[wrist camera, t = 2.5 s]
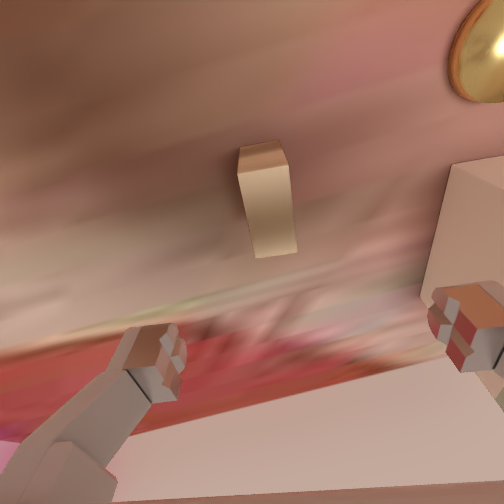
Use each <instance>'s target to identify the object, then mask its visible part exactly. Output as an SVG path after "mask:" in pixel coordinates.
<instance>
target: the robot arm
mask: <svg viewBox="0 0 504 504" xmlns="http://www.w3.org/2000/svg"><path fill="white" fill-rule="evenodd" d="M431 298H432V300H433V301H434V302H435V303H434V304H433V305H432V306H431V307H430V308H429V310H428V315H427V318H428V323H429V327H430V329H431V331H432V333H433V334H434V336H435V337H436V339H437V340H439V341H441V342H443V343H444V344H446V345H447V347H446V353H447V355H448V356H449V357H450V359H451V360H452V361H453V363H454V365H455V366H456V367H457V369H458V370H459V372H461V373H462V372H476V371H490V370H494V372H495V373H496V374H497V375H499V376H500V377H502V378H503V379H504V287H503V286H502V285H501V284H500V283H498V282H496V281H493V280H490V281H482V282H475V283H468V284H461V285H454V286H447V287H440V288H435V290H434V291H433V293H432V297H431ZM178 331H179V330H178V328H177V326H176V324H175V323H166V324H157V325H147V326H141V327H131V328H129V329H128V330H126V332H125V333H124V335H123V337H122V339H121V341H120V343H119V345H118V347H117V349H116V351H115V353H114V355H113V357H112V359H111V361H110V363H109V365H108V367H107V369H106V371H105V372H103V373H100V374H98V375H97V376H96V377H95V378H94V379H93V380H92V381H90V382H89V383H88V384H87V385H86V386H85V387H84V388H83V389H81V390H80V391H79V392H78V393H77V394H76V395H75V396H73V397H72V398H71V399H70V400H69V401H68V402H67V403H66V404H64V405H63V406H62V407H61V408H60V409H59V410H58V411H56V412H55V413H54V414H53V415H52V416H51V417H50V418H49V419H47V420H46V421H45V422H44V423H43V424H42V425H41V426H39V427H38V428H37V429H36V430H35V431H34V432H33V433H32V434H30V435H29V436H28V437H27V438H26V439H25V440H24V441H23V442H21V443H20V445H19V446H18V448H17V449H16V451H15V452H14V454H13V456H12V457H11V459H10V460H9V462H8V463H7V465H6V467H5V468H4V470H3V471H2V473H1V474H0V504H504V480H502V481H484V482H466V483H448V484H431V485H414V486H395V487H379V488H378V487H377V488H360V489H342V490H325V491H307V492H288V493H271V494H252V495H235V496H218V497H199V498H181V499H164V500H146V501H128V502H111V501H112V498H113V496H114V492H115V489H116V486H117V483H118V482H117V479H116V477H115V476H114V475H112V474H111V473H110V472H109V471H107V470H106V469H105V467H106V466H107V464H108V463H109V462H110V461H111V459H112V458H113V457H114V455H115V454H116V452H117V451H118V450H119V449H120V447H121V446H122V445H123V443H124V442H125V441H126V439H127V438H128V437H129V435H130V434H131V432H132V431H133V430H134V428H135V427H136V426H137V424H138V423H139V422H140V420H141V419H142V418H143V416H144V415H145V414H146V412H147V411H148V410H149V408H150V407H151V406H152V403H160V402H168V401H176V400H177V399H178V395H179V391H180V386H181V382H182V379H181V377H180V375H179V374H180V372H181V371H182V370H183V369H184V368H185V365H186V361H187V348H186V344H185V342H184V340H183V339H182V338H181V337H179V336H177V334H178Z"/></svg>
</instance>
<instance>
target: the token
mask: <svg viewBox="0 0 504 504" xmlns="http://www.w3.org/2000/svg"><path fill="white" fill-rule="evenodd" d="M237 175H238V180H239V185H240V189H241V194H242V198H243V203H244V208H245V212H246V217H247V221H248V226H249V231H250V235H251V240H252V245H253V249H254V254H255V258H256V259H257V258H264V257H270V256H277V255H283V254H290V253H296V252H297V243H296V233H295V223H294V214H293V204H292V194H291V185H290V175H289V165H288V162H287V160H286V157H285V155H284V152H283V150H282V147H281V145H280V142H279V140H274V141H268V142H263V143H258V144H253V145H248V146H243V147H240V152H239V162H238V172H237Z"/></svg>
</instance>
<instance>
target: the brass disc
mask: <svg viewBox="0 0 504 504" xmlns="http://www.w3.org/2000/svg"><path fill="white" fill-rule="evenodd" d="M448 77H449V81H450V84H451V86H452V88H453V89H454V91H455V92H456V93H457V94H458V95H460V96H461V97H463V98H465V99H468V100H473V101H480V102H486V103H501V102H504V0H481V1H480V2H479V3H478V4H477V5H476V6H475V7H474V8H473V9H472V10H471V12H470V13H469V14H468V15H467V17H466V18H465V20H464V21H463V23H462V24H461V26H460V28H459V30H458V32H457V34H456V36H455V38H454V40H453V43H452V46H451V49H450V53H449V58H448Z"/></svg>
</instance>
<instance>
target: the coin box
mask: <svg viewBox="0 0 504 504" xmlns="http://www.w3.org/2000/svg"><path fill="white" fill-rule="evenodd" d="M490 280H493V281H496V282H498V283H500V284H501V285H502V286H503V287H504V155H503V156H497V157H491V158H485V159H480V160H474V161H468V162H462V163H456V164H452V166H451V170H450V174H449V178H448V182H447V187H446V191H445V195H444V199H443V203H442V207H441V211H440V215H439V219H438V223H437V228H436V232H435V236H434V240H433V244H432V248H431V252H430V256H429V260H428V264H427V269H426V273H425V277H424V281H423V285H422V289H421V293H420V298H421V299H422V301H423V302H424V304H425V305H426V306H427V308H428V309H429V308H430V307H431V306H432V305H433V304H434V303H435V302H434V301H433V300H432V298H431V297H432V293H433V291H434V290H435V288H440V287H447V286H454V285H461V284H468V283H475V282H482V281H490ZM475 373H476V374H477V376H478V377H479V378H480V380H481V381H482V383H483V384H484V385H485V387H486V388H487V389H488V391H489V392H490V394H491V395H492V396H493V398H494V399H495V400H496V402H497V403H498V405H499V406H500V407H501V409H502V410H503V411H504V379H503V378H502V377H500V376H499V375H497V374H496V373H495V372H494V370H490V371H476V372H475Z"/></svg>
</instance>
